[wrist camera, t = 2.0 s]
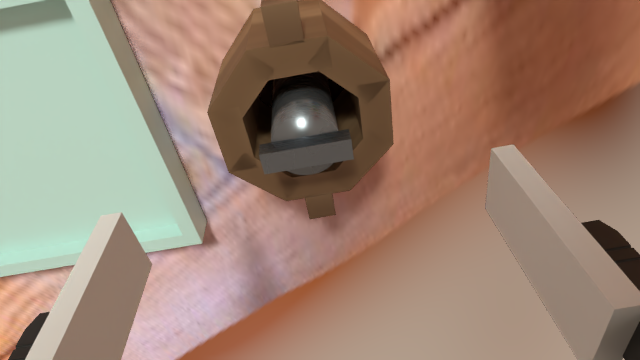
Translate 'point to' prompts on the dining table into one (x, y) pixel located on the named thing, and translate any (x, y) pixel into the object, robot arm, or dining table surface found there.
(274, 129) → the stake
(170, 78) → the dining table surface
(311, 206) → the brown hollow ring piece
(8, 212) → the tray
